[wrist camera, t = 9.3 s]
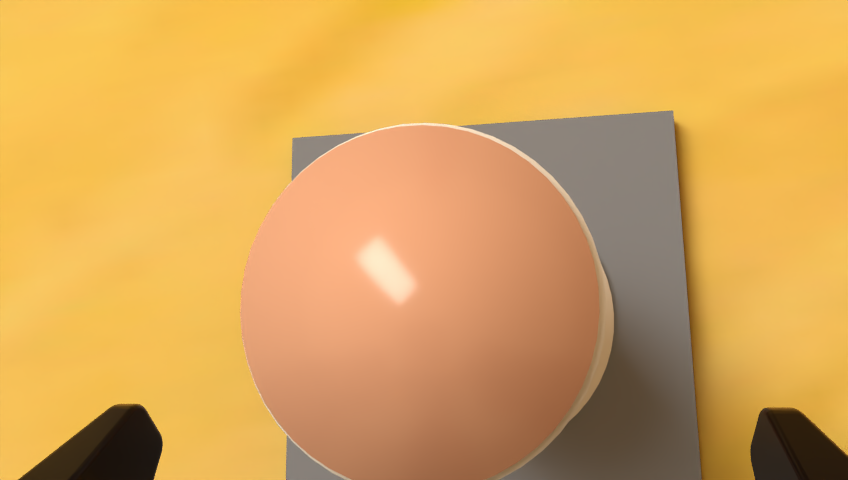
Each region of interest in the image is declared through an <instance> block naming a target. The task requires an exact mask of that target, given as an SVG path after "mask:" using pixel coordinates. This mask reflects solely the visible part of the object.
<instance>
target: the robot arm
mask: <svg viewBox="0 0 848 480" xmlns="http://www.w3.org/2000/svg"><path fill="white" fill-rule="evenodd" d="M162 446H163V444H162V437H161V434H160V432H159V431H158V429H157V427H156V426H155V424H154V422H153V421H152V419H151V417H150V416H149V414H148V412H147V411H146V409H145V408H144V407H143V406H141V405H140V404H117V405H114V406H112V407H110V408H109V409H108V410H106V411H105V412H104V413H103V414H101V415H100V416H99V417H97V418H96V419H95V420H94V421H92V422H91V423H90V424H88V425H87V426H86V427H85V428H83V429H82V430H81V431H80V432H78V433H77V434H76V435H74V436H73V437H72V438H71V439H69V440H68V441H67V442H66V443H64V444H63V445H62V446H60V447H59V448H58V449H57V450H55V451H54V452H53V453H52V454H50V455H49V456H48V457H46V458H45V459H44V460H43V461H41V462H40V463H39V464H38V465H36V466H35V467H34V468H32V469H31V470H30V471H29V472H27V473H26V474H25V475H23V476H22V477H21V478H20V479H18V480H154V476H155V473H156V470H157V466H158V463H159V459H160V456H161V452H162ZM751 462H752V467H753V471H754V476H755V480H848V455H846V454H845V453H844V452H843V451H842V450H841V449H840V448H839V447H838V446H837V445H836V444H835V443H834V442H833V441H832V440H831V439H829V438H828V437H827V436H826V435H825V434H824V433H823V432H822V431H821V430H820V429H819V428H818V427H817V426H816V425H815V424H814V423H813V422H811V421H810V420H809V419H808V418H807V417H806V416H805V415H804V414H803V413H802V412H800V411H799V410H797V409H794V408H764V409H763V410H762V411H761V412H760V414H759V417H758V421H757V425H756V429H755V432H754V436H753V440H752V443H751Z"/></svg>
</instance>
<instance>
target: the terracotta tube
mask: <svg viewBox="0 0 848 480" xmlns="http://www.w3.org/2000/svg"><path fill="white" fill-rule="evenodd" d="M240 316H241V329H242V340H243V344H244V349H245V354H246V359H247V363H248V366H249V369H250V372H251V375H252V378H253V381H254V383H255V386H256V388H257V390H258V392H259V394H260V396H261V398H262V400H263V402H264V404H265V406H266V407H267V409H268V410H269V412H270V413H271V415H272V417H273V418H274V420H275V421H276V423H277V424H278V425H279V427H280V428H281V429H282V430H283V431H284V432H285V434H286V435H287V436H288V437H289V438H290V439H291V441H292V442H293V443H294V444H295V445H296V446H297V447H299V448H300V449H301V450H302V451H303V452H304V453H305V454H306V455H308V456H309V457H310V458H311V459H312V460H314V461H315V462H317V463H318V464H320V465H321V466H322V467H324V468H325V469H327V470H328V471H330V472H331V473H333V474H335V475H337V476H339V477H341V478H343V479H345V480H499V479H501V478H503V477H505V476H506V475H508V474H510V473H512V472H514V471H515V470H517V469H519V468H521V467H522V466H524V465H525V464H526V463H527V462H529V461H530V460H531V459H533V458H534V457H535V456H537V455H538V454H539V453H540V452H542V451H543V450H544V449H545V448H546V447H547V446H548V445H549V444H550V443H551V442H552V441H553V440H554V439H555V438H556V437H557V436H558V435H559V434H560V433H561V431H562V430H563V429H564V427H565V426H566V425H567V423H568V422H569V420H570V419H571V418H572V416H573V415H574V414H575V412H576V411H577V409H578V407H579V405H580V404H581V402H582V400H583V398H584V396H585V394H586V393H587V391H588V389H589V386H590V384H591V381H592V379H593V376H594V373H595V371H596V368H597V365H598V362H599V357H600V353H601V349H602V345H603V340H604V331H605V321H606V297H605V284H604V279H603V273H602V267H601V262H600V259H599V256H598V253H597V250H596V246H595V243H594V240H593V237H592V235H591V233H590V231H589V229H588V227H587V225H586V223H585V221H584V219H583V217H582V215H581V213H580V212H579V210H578V209H577V207H576V206H575V204H574V203H573V201H572V200H571V198H570V196H569V195H568V194H567V193H566V191H565V190H564V189H563V188H562V187H561V186H560V184H559V183H558V182H557V181H556V180H555V179H554V178H553V176H552V175H550V174H549V173H548V172H547V171H546V170H545V169H544V168H542V167H541V166H540V165H539V164H538V163H537V162H536V161H535V160H533V159H532V158H530V157H529V156H527V155H526V154H524V153H523V152H521V151H520V150H518V149H517V148H515V147H514V146H512V145H509V144H507V143H505V142H503V141H501V140H499V139H497V138H495V137H493V136H490V135H487V134H484V133H482V132H479V131H476V130H473V129H469V128H464V127H459V126H454V125H449V124H435V123H415V124H401V125H396V126H391V127H385V128H380V129H377V130H374V131H371V132H368V133H365V134H362V135H359V136H356V137H354V138H352V139H350V140H348V141H346V142H344V143H342V144H339V145H337V146H336V147H334V148H333V149H331V150H330V151H328V152H326V153H325V154H323V155H322V156H320V157H319V158H317V159H316V160H315V161H314V162H312V163H311V164H310V165H309V166H308V167H306V168H305V169H304V170H303V171H301V172H300V173H299V175H298V176H297V177H296V178H295V179H294V180H293V181H292V182H291V183H290V184H289V185H288V186H287V187H286V188H285V189H284V191H283V192H282V193H281V195H280V196H279V197H278V199H277V200H276V201H275V203H274V204H273V205H272V207H271V209H270V210H269V212H268V214H267V216H266V217H265V219H264V221H263V223H262V224H261V226H260V228H259V231H258V233H257V235H256V238H255V240H254V242H253V245H252V247H251V250H250V254H249V257H248V261H247V264H246V267H245V272H244V278H243V284H242V291H241V312H240Z"/></svg>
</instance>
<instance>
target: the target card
mask: <svg viewBox="0 0 848 480" xmlns="http://www.w3.org/2000/svg"><path fill="white" fill-rule="evenodd" d="M459 127H464V128H469V129H473V130H476V131H479V132H482V133H484V134H487V135H490V136H493V137H495V138H497V139H499V140H501V141H503V142H505V143H507V144H509V145H512V146H514V147H515V148H517V149H518V150H520V151H521V152H523V153H524V154H526V155H527V156H529V157H530V158H532V159H533V160H535V161H536V162H537V163H538V164H539V165H540V166H541V167H542V168H544V169H545V170H546V171H547V172H548V173H549V174H550V175H552V176H553V178H554V179H555V180H556V181H557V182H558V183H559V184H560V186H561V187H562V188H563V189H564V190H565V191H566V193H567V194H568V195H569V196H570V198H571V200H572V201H573V203H574V204H575V206H576V207H577V209H578V210H579V212H580V213H581V215H582V217H583V219H584V221H585V223H586V225H587V227H588V229H589V231H590V233H591V235H592V237H593V240H594V243H595V246H596V250H597V253H598V256H599V259H600V262H601V267H602V273H603V279H604V284H605V297H606V321H605V331H604V340H603V345H602V349H601V353H600V357H599V362H598V365H597V368H596V371H595V373H594V376H593V379H592V381H591V384H590V386H589V389H588V391H587V393H586V394H585V396H584V398H583V400H582V402H581V404H580V405H579V407H578V409H577V411H576V412H575V414H574V415H573V416H572V418H571V419H570V420H569V422H568V423H567V425H566V426H565V427H564V429H563V430H562V431H561V433H560V434H559V435H558V436H557V437H556V438H555V439H554V440H553V441H552V442H551V443H550V444H549V445H548V446H547V447H546V448H545V449H544V450H543V451H542V452H540V453H539V454H538V455H537V456H535V457H534V458H533V459H531V460H530V461H529V462H527V463H526V464H525V465H524V466H522V467H521V468H519V469H517V470H515V471H514V472H512V473H510V474H508V475H506V476H505V477H503V478H501V479H499V480H702V477H701V464H700V451H699V439H698V426H697V413H696V400H695V387H694V374H693V361H692V348H691V336H690V323H689V310H688V297H687V284H686V271H685V258H684V245H683V233H682V220H681V207H680V194H679V181H678V168H677V155H676V142H675V129H674V117H673V111H661V112H647V113H633V114H619V115H605V116H592V117H578V118H564V119H550V120H536V121H523V122H509V123H495V124H481V125H467V126H459ZM362 134H365V133H357V134H343V135H329V136H315V137H301V138H293V146H292V181H293V180H294V179H295V178H296V177H297V176H298V175H299V173H300V172H301V171H303V170H304V169H305V168H306V167H308V166H309V165H310V164H311V163H312V162H314V161H315V160H316V159H317V158H319V157H320V156H322V155H323V154H325V153H326V152H328V151H330V150H331V149H333V148H334V147H336V146H337V145H339V144H342V143H344V142H346V141H348V140H350V139H352V138H354V137H356V136H359V135H362ZM286 480H345V479H343V478H341V477H339V476H337V475H335V474H333V473H331V472H330V471H328V470H327V469H325V468H324V467H322V466H321V465H320V464H318V463H317V462H315V461H314V460H312V459H311V458H310V457H309V456H308V455H306V454H305V453H304V452H303V451H302V450H301V449H300V448H299V447H297V446H296V445H295V444H294V443H293V442H292V441H291V439H290V438H289V437H288V436H287V456H286Z"/></svg>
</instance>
